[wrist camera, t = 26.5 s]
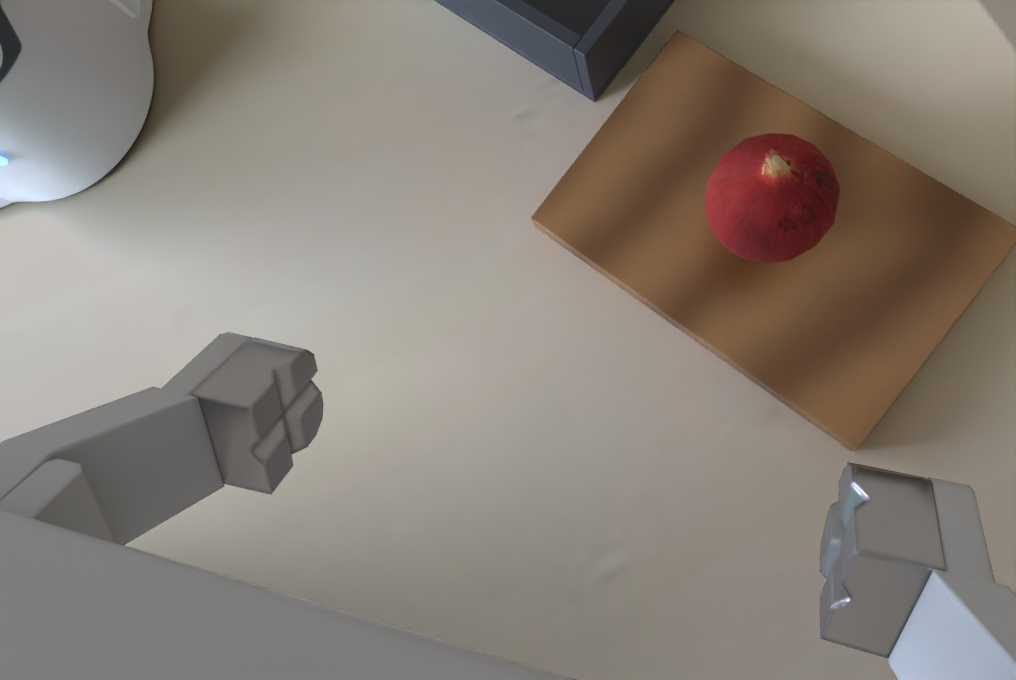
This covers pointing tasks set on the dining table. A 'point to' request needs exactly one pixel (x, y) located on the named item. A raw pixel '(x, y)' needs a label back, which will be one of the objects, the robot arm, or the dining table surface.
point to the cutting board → (782, 285)
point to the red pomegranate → (772, 198)
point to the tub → (568, 34)
